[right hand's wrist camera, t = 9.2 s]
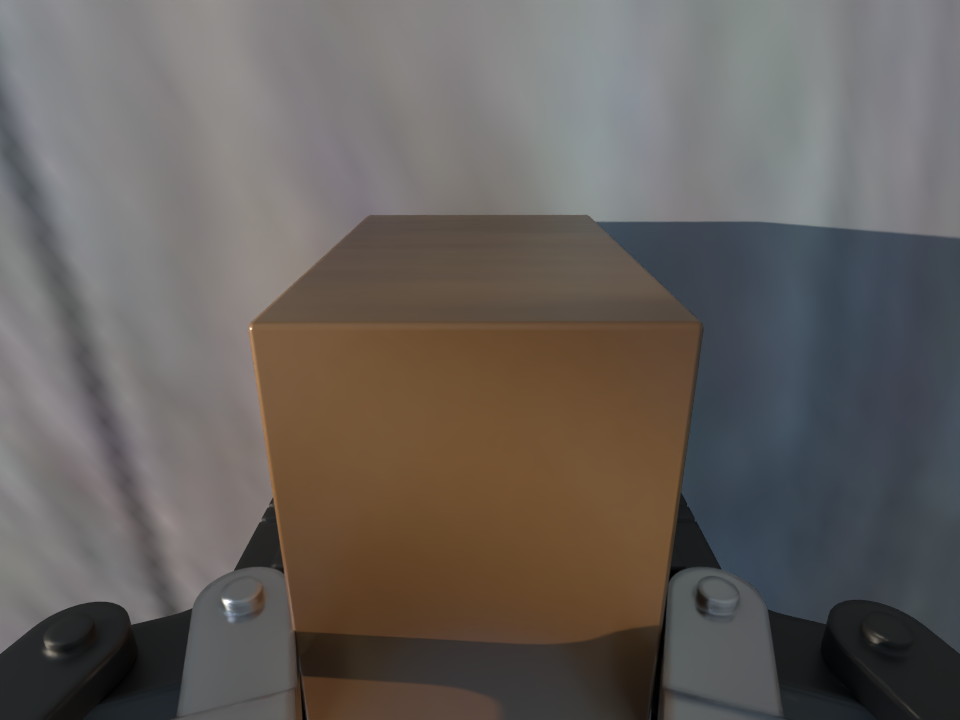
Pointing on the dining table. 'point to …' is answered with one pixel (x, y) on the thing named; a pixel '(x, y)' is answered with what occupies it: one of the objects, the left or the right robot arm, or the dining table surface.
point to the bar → (476, 468)
